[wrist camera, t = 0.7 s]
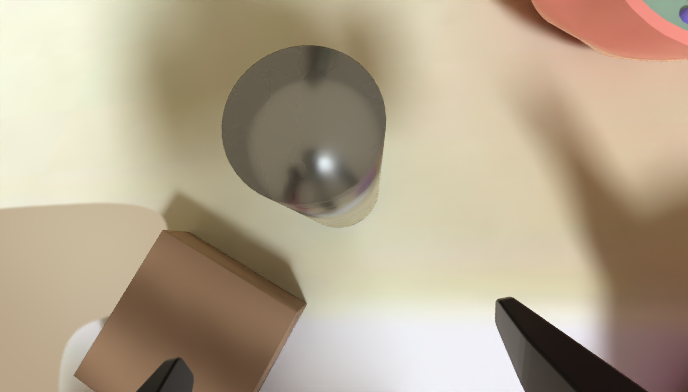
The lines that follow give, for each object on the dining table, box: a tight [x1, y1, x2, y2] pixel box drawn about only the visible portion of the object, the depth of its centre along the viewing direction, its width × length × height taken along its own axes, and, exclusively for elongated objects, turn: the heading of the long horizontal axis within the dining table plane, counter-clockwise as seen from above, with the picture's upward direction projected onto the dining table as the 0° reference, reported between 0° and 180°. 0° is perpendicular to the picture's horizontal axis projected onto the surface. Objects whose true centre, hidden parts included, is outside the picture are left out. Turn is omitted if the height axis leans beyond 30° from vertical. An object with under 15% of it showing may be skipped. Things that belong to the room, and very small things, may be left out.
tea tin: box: [222, 46, 386, 228], centre depth 17 cm, size 6×6×12 cm
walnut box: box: [74, 230, 307, 392], centre depth 21 cm, size 10×10×3 cm
